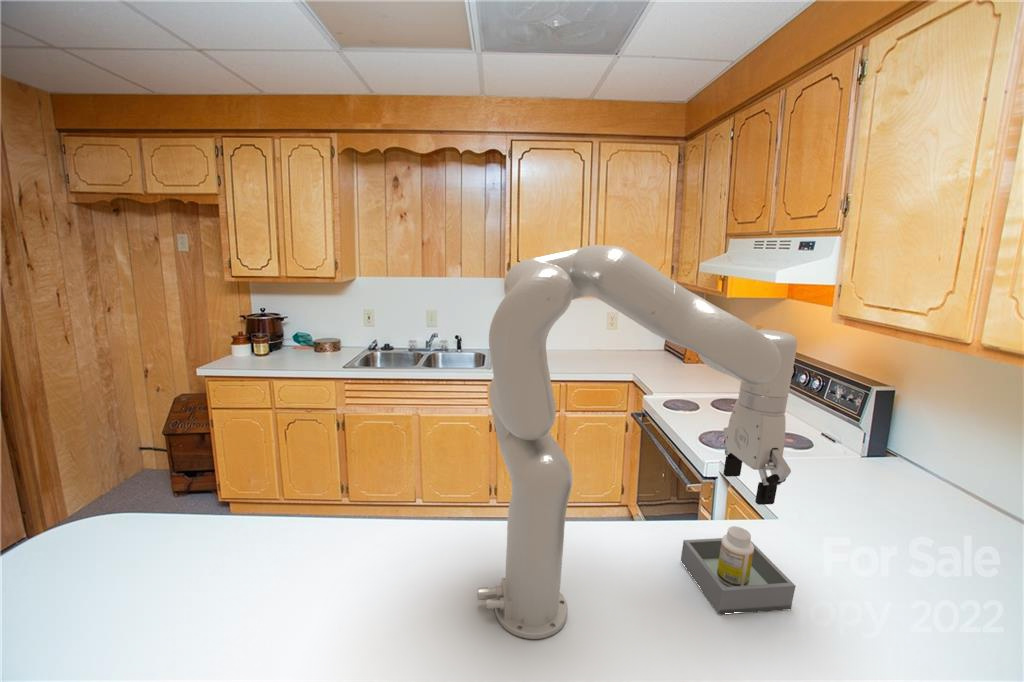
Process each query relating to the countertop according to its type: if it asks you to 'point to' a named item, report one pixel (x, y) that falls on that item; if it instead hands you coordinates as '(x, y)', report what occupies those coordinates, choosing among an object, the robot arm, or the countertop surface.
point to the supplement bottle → (735, 557)
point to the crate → (759, 595)
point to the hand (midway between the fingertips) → (747, 488)
